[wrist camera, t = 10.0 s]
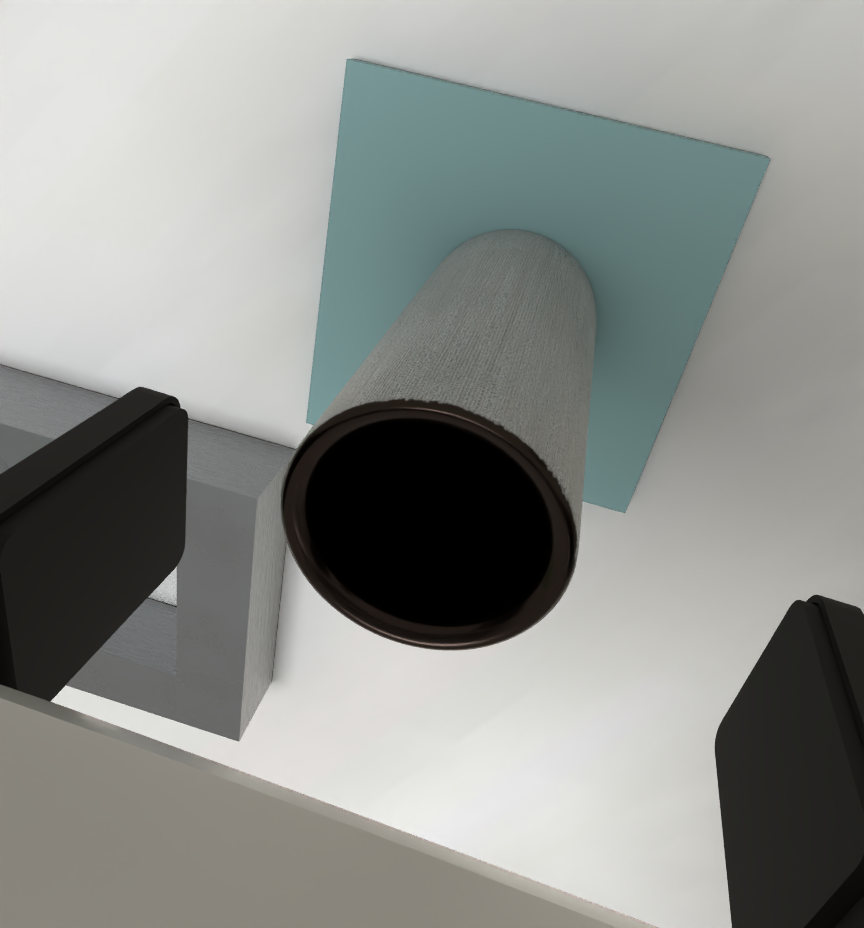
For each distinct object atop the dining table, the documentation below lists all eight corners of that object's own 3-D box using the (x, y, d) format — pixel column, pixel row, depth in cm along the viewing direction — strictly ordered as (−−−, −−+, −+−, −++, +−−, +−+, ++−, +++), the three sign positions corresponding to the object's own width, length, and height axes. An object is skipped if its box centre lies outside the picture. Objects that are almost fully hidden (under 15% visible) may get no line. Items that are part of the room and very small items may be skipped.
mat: (766, 155, 17) (770, 159, 16) (624, 504, 22) (624, 513, 22) (353, 58, 18) (346, 59, 17) (311, 415, 23) (306, 422, 23)
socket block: (296, 449, 24) (257, 499, 21) (271, 681, 30) (239, 741, 27) (-17, 360, 25) (-90, 396, 22) (19, 601, 31) (-34, 652, 28)
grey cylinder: (464, 197, 18) (323, 344, 10) (630, 273, 18) (639, 489, 10) (403, 351, 21) (247, 580, 12) (549, 418, 21) (498, 694, 12)
